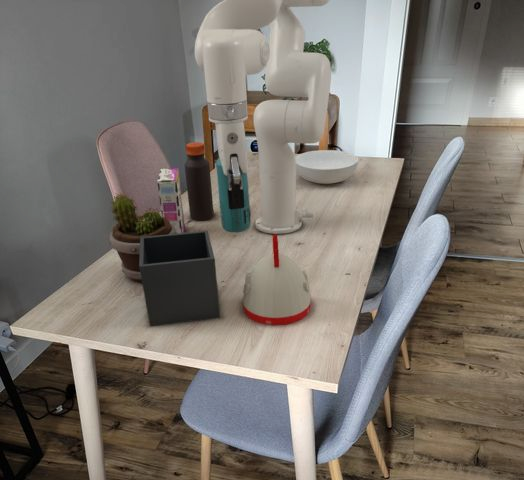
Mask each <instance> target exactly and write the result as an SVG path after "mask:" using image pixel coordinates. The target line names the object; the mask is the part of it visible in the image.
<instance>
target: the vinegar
mask: <svg viewBox="0 0 524 480" xmlns="http://www.w3.org/2000/svg"><path fill="white" fill-rule="evenodd" d="M205 149H206V148H205V143H203V142H197V141H196V142H194V141H193V142H189V143H186V145H185V151H186V156H187V157H188V159H187V160H186V161H185V163H184V173H185V183H186V191H187V200H188V208H189V217H190V219H192V220H194V221H197V222H199V221H200V222H201V221H207V220H211V219H212V218H213V217H214V216H215V213H214V201H213V200H214V199H213V193H212V192H213V190H212V178H211V177H212V176H211V167H210V162H209V161H208V160H207V159H206V158H205V155H206V150H205Z"/></svg>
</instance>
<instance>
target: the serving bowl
mask: <svg viewBox="0 0 524 480" xmlns="http://www.w3.org/2000/svg"><path fill="white" fill-rule="evenodd" d="M295 158H296V173H297V174H298V175H299V176H300V177H301V178H302V179H303V180H306V181H308V182H311V183H314V184H319V185H320V184H321V185H330V184H331V185H332V184H336V183H340V182H343V181H346V180H348V179H349V178H351V177H352V176H353V175H354V173H355V172H356V170H357V168H358V165H359V157H358V156H357V155H355V154H354V153H351V152H346V151H342V150H334V149H319V150H311V151H306V152H303V153H300V154H298V155H295Z"/></svg>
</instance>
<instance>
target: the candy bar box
mask: <svg viewBox="0 0 524 480" xmlns="http://www.w3.org/2000/svg"><path fill="white" fill-rule="evenodd" d="M156 181H157V182H156V183H157V189H158V197H159V204H160V214H161V217H166V218H167V219H168V220H169V222H170V224H172V225H173V226H174V227H175V229H176V234H177V233H185V229H186V227H185V218H184V208H183V198H182V187H181V180H180V170H179V167H174V168H172V167H171V168H160V169H159V174H158V177H157V180H156Z"/></svg>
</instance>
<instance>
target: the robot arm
mask: <svg viewBox="0 0 524 480" xmlns="http://www.w3.org/2000/svg"><path fill="white" fill-rule="evenodd" d="M329 2H330V0H222V1H220V2H219V3H217V4H216V5H215V6H213V7H212V8H211V9H209V11H208V12H207V14H206V15H205V17H204V18H203V20H202V22H201V25H200V27H199V29H198V32H197V34H196V38H195V43H194V58H195V62H196V65H197V66H198V67H199V68H198V69H200V70H201V71H203V73H204V82H205V92H206V93H205V94H206V105H207V116H208V121H209V122H210V123H214V124H215V125H214V126H215V133H216V134H215V137H216V146H217V153H218V158H220V161H221V164H222V169H223V173H224V174H225V175H226V176H227V178H228V187H229V189H227V191H228V204H229V209H239V208H244V207H245V205H244V189H243V185H242V176H241V170H242V172H243V173H245V174H247V175H248V173H249V163H248V150H247V140H246V131H245V124H244V121H247V120H248V119H249V116H248V115H249V113H248V97H247V76H250V75H251V76H252V75H257V74H259V73H261V72H262V71H264V69H265V73H264V74H265V76H264V85H265V88H266V90H267V92H268V93H269V94H271V95H272V96H278V97H291V98H307V100H298V99H297V100H294V99H267V100H263V101H262V102H260V103H259V104H257V106H256V107H255V109H254V111H253V127H254V133H255V136H256V144H257V152H258V153H257V154H258V174H259V177H258V178H259V201H260V202H259V203H260V205H259V206H260V217H258V218H257V219H256V220H255V228H256V229H257V230H258V231H259V232H262V233H265V234H272V235H282V234H283V235H284V234H290V233H292V232H296V231H298V230H299V229H300V228H301V227H302V226H303V225H302V220H303V219H311V218H314V210H312V209H311V210H308V209H307V208H300V209H299V208H298V207H297V170H296V158H295V157H296V155H295V152H294V151H293V149H292V148H291V146H290V145H289V144H308V145H309V144H317V143H319V142H320V141H321V139H322V138H323V136H324V133H325V129H326V122H327V114H328V108H329V100H330V91H331V82H332V81H331V80H332V67H331V62H330V59H329V57H327V55H325V54H324V53H321V52H304V49H305V40H306V32H305V29H304V26H303V25H302V22H301V20H299V18H298V17H297V15H296V14H295V13H294V12H293V10H292V9H291V8H300V7H301V8H305V7H307V8H308V7H323V6H325V5H327V4H328V3H329ZM267 26H268V29H269V30H268V31H269V40H268V38H267V36H266V35H265V34H264V33H263V32H261V31H260V30H259V29H262V28H265V27H267ZM231 137H233V138H231ZM230 160H231V162H230ZM231 170H232V173H233V174H229V171H231ZM231 177H233V179H232V180H231Z"/></svg>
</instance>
